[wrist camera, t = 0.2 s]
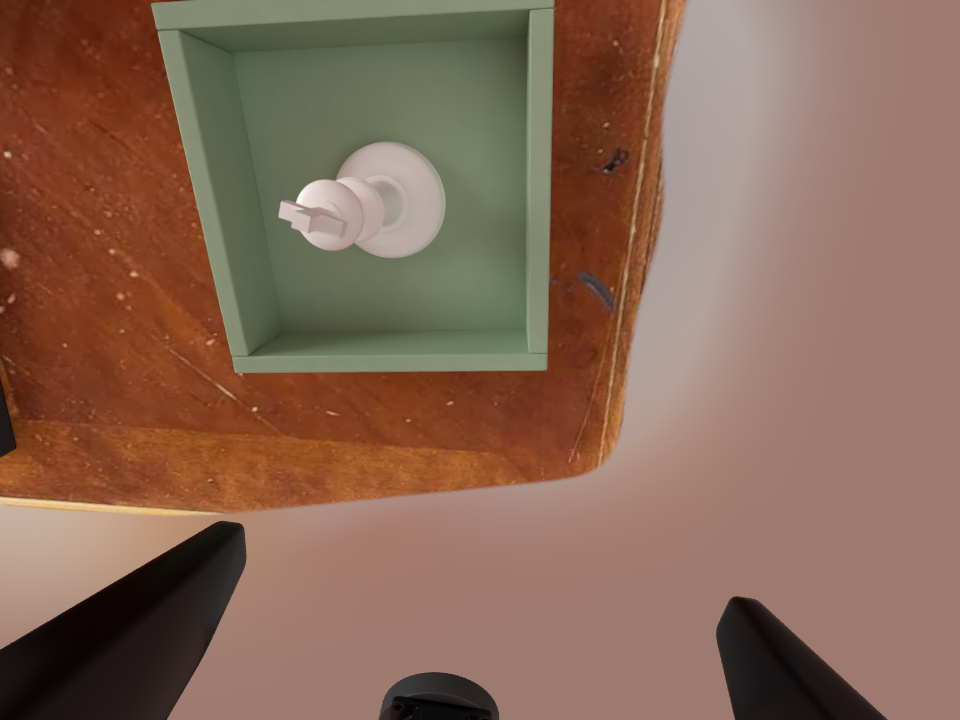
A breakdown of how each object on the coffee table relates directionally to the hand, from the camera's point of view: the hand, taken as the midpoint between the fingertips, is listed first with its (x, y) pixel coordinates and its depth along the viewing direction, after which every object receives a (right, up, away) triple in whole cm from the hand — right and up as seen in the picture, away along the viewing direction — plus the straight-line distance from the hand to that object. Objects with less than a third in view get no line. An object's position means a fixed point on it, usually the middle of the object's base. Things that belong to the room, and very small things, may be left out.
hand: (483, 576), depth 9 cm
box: (-4, +11, +13) cm, 18 cm away
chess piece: (-4, +11, +13) cm, 18 cm away
